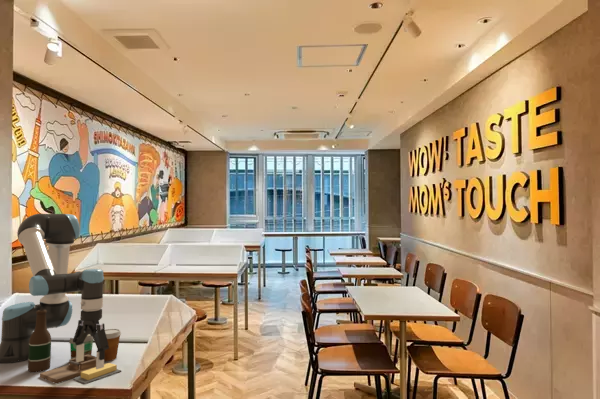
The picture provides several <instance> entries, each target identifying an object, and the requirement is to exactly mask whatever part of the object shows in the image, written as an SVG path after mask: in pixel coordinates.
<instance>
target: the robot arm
mask: <svg viewBox="0 0 600 399" xmlns="http://www.w3.org/2000/svg"><path fill="white" fill-rule="evenodd" d="M16 233H17V239H18V242H19V243H20V244H21V245H22V246H23V249H24V252H25V255H26V258H27V262H28V264H29V267H30V271H31V275H32V276H31V277H30V279H29V282H28V290H29V294H30V295H31V296H33V297H36V296H37V297H40V296H41V298H40V300H39V304H36V303H35V302H34V301H26V302H20V303H15V304H12V305H9V306H6V307H5V308H4V309H3V311H2V317H1V336H0V339H1V340H0V364H9V363H11V364H12V363H17V362H18V363H19V362H23V361H28V355H29V340H30V337H31V335H32V333H33V332H34V331H35V327H36V318H37V313H36V312H37V311H38V310H46V311H47V313H46V327H47V330H48V329H57V328H59V327H64V326H66V325H68V324H69V322H70V320H71V318H72V316H73V303H72V301H70V300H69V297H68V296H67V295H66V293H67V294H69V293H76V292H81V298H80V299H81V302H80V309H81V311H80V319H79V320H78V321H77V328H76V330H75V333H74V336H73V338H74V339H73V342H75V344H76V362H80V361H84V344H82V343H85V342H84V340H85V338H86V337H87V335H88V334H90V335H91V336H92V337H93V342H94V344H95V346H96V355H95V357H96V369H100V368H103V367H104V363H105V361H104V358H105V350H107V349H109V345H108V341H107V337H106V333H105V330H106V329H105V323H103V322H102V323H100V320H102V318H103V309H102V308H103V306H104V304H103V302H104V301H103V300H104V297H103V296H104V295H103V294H104V280H105V277H104V270H103V269H101V268H89V269H84V270H83V271H76V272H71V273H68V271H69V270H68V269H69V258H70V250H71V246H72V245H74V243H75V240H76V239H78V238H80V234H81V227H80V222H79V219H78V218H77V217H76V215H74V214H69V213H35V214H32V215H30V216H28V217H26V218H24V220H23V221H22V222H21V223H20V225H19V226H18V228H17V232H16ZM47 246H48V247H47ZM100 347H101V348H100Z"/></svg>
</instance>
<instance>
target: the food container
mask: <svg viewBox="0 0 600 399" xmlns="http://www.w3.org/2000/svg"><path fill="white" fill-rule="evenodd" d="M73 339H74V337H70V339H69V341H68V344H69V347H70V359H73V358H76V344H75V342H73ZM84 342H85V343H82V344H84V355H87V354H89V355H92V352H93V346H94V345H93V344H94V343H93V342H94V339H93V337H92V336H91V335H90V334H88V335H87V337H86V338H85V340H84Z"/></svg>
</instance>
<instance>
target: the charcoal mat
mask: <svg viewBox="0 0 600 399" xmlns="http://www.w3.org/2000/svg"><path fill="white" fill-rule="evenodd" d="M118 373H122V370H121V369H118V368H117V370H115V371H113V372H110V373H107V374H104V375H101V376H98V377H95V378H93V379H90V380H87V379H84V378H81V376H78V377H75V378H72V380H73V381H75V382H78V383H81V384H83V385H87V384H89V383H93V382H96V381H99V380H101V379H104V378H106V377H107V378H108V377H111V376H112V375H113V376H114V375H115V374H118Z"/></svg>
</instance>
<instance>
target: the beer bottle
mask: <svg viewBox="0 0 600 399" xmlns="http://www.w3.org/2000/svg"><path fill="white" fill-rule="evenodd" d="M36 313H37V318H36V327H35V331H33V333H32V335H31V337H30V340H29V355H28V359H27V370H28V372H29V373H42V372H46V371H48V370H50V368H51V358H52V357H51V355H52V354H51V353H52V336H51V333H50V332H49V330H48V329H47V327H46V313H47V311H46V310H38V311H37V312H36Z"/></svg>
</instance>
